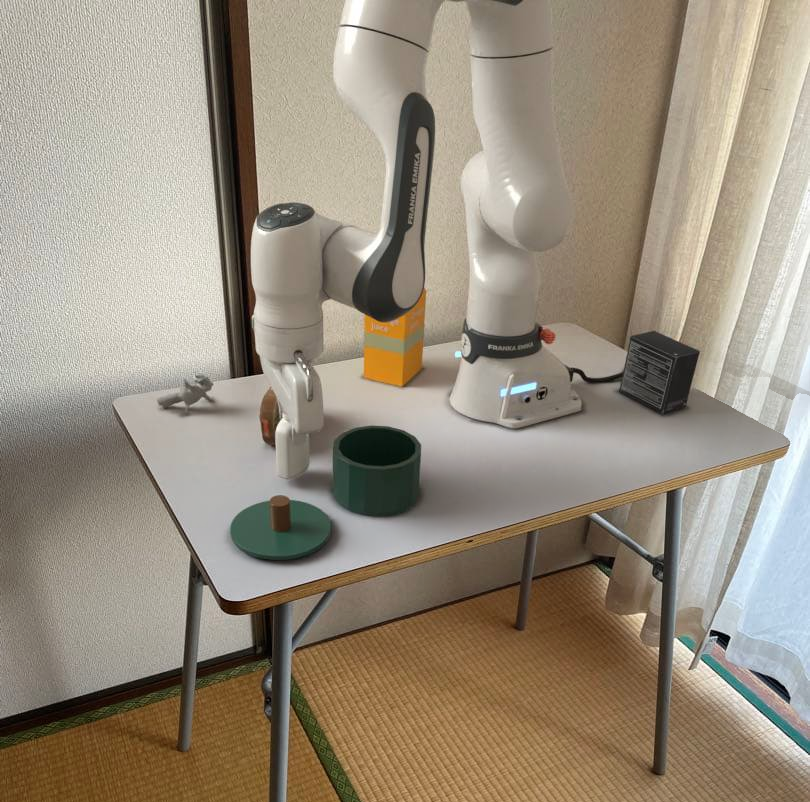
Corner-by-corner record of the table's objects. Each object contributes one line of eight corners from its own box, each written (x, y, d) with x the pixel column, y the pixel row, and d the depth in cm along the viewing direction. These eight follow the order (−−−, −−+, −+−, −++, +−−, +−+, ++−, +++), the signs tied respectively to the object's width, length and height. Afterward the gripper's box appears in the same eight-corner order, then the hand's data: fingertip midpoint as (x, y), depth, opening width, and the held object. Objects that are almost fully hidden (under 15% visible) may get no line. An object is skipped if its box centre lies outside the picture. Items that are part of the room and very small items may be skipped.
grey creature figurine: (168, 394, 145) (218, 377, 144) (177, 427, 144) (227, 411, 143) (141, 378, 135) (194, 360, 134) (150, 414, 135) (203, 396, 133)
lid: (315, 500, 120) (315, 468, 117) (343, 553, 111) (343, 519, 108) (222, 515, 116) (219, 482, 113) (242, 571, 107) (239, 537, 104)
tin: (278, 456, 130) (275, 405, 125) (258, 453, 130) (255, 402, 125) (307, 411, 142) (306, 363, 137) (289, 409, 142) (287, 361, 137)
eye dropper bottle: (318, 472, 124) (317, 396, 117) (282, 483, 121) (279, 405, 114) (303, 459, 127) (301, 384, 120) (268, 469, 124) (264, 392, 117)
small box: (688, 407, 150) (703, 350, 143) (662, 416, 146) (676, 357, 140) (642, 384, 156) (655, 328, 150) (617, 391, 153) (628, 335, 147)
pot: (400, 465, 129) (403, 420, 125) (431, 508, 120) (434, 461, 116) (323, 477, 125) (322, 431, 121) (348, 522, 116) (348, 474, 112)
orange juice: (422, 368, 158) (429, 258, 146) (402, 386, 151) (407, 273, 139) (383, 359, 160) (387, 250, 149) (362, 377, 153) (364, 264, 142)
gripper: (335, 367, 106) (336, 465, 114) (293, 307, 121) (296, 397, 129) (285, 373, 104) (289, 472, 112) (248, 311, 119) (254, 402, 127)
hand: (292, 431), depth 121 cm, fingers closed on eye dropper bottle, 5 cm apart
